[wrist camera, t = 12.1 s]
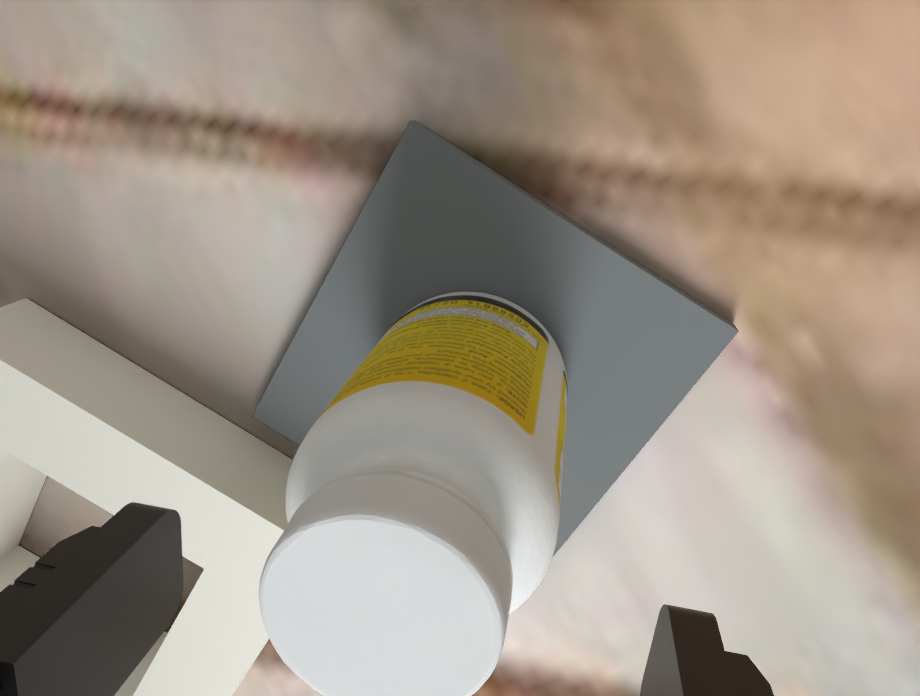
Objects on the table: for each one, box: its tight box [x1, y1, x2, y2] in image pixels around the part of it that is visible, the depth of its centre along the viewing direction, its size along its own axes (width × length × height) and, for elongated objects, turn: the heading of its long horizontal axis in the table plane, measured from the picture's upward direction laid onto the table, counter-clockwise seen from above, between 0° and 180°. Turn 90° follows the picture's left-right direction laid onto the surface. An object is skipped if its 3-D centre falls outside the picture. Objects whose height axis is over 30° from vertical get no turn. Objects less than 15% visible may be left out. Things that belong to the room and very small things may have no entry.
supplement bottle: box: [259, 292, 568, 696], centre depth 16 cm, size 5×5×10 cm
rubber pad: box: [252, 121, 738, 556], centre depth 20 cm, size 10×10×1 cm
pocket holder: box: [0, 298, 293, 696], centre depth 23 cm, size 12×12×3 cm
